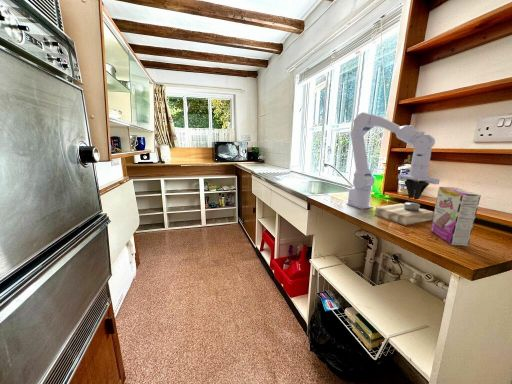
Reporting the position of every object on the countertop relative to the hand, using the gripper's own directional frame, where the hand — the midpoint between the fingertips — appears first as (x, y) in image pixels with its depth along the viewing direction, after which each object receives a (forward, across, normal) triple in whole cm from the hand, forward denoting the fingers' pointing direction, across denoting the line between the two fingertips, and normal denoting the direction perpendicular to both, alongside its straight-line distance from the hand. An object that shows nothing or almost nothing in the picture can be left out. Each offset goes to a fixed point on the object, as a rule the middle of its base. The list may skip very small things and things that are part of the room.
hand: (413, 198), depth 88 cm
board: (+8, -2, -2) cm, 9 cm away
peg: (+8, 0, 0) cm, 8 cm away
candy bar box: (+9, +18, -10) cm, 22 cm away
